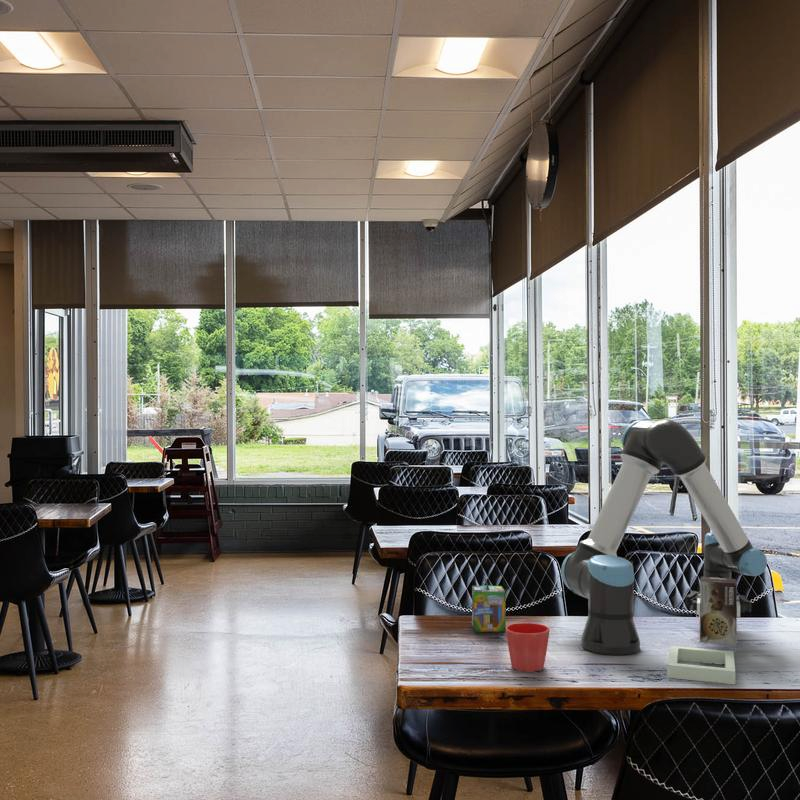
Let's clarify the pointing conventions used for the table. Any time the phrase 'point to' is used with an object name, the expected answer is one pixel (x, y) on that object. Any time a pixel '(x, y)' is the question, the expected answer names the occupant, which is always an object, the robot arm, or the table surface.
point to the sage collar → (701, 672)
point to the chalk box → (488, 608)
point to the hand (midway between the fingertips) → (718, 610)
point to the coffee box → (718, 610)
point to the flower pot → (527, 645)
